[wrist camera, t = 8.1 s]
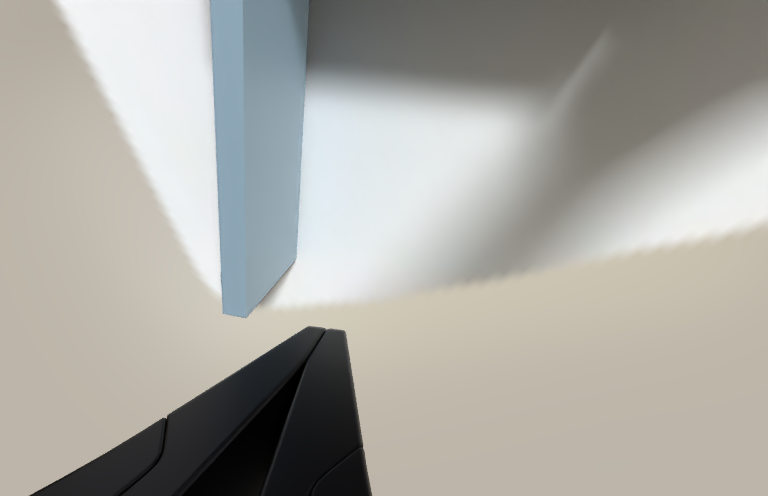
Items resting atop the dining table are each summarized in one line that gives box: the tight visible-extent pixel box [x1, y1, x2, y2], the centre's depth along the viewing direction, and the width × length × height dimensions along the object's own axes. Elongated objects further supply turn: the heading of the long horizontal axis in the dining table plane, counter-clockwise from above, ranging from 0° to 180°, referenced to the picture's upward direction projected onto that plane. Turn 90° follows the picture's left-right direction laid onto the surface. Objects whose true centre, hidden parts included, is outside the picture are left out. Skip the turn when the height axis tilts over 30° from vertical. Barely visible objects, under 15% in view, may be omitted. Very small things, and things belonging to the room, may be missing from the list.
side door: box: [210, 0, 309, 318], centre depth 15 cm, size 15×2×6 cm, turn 172°
